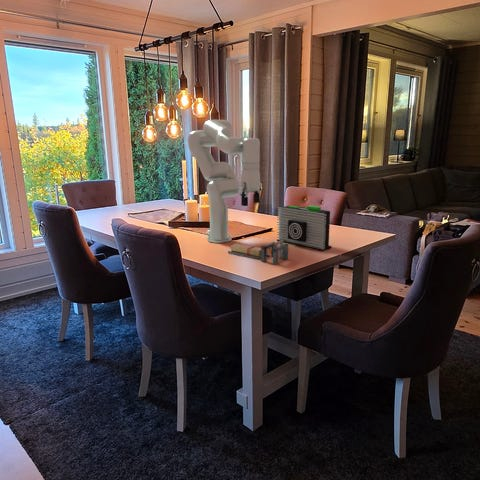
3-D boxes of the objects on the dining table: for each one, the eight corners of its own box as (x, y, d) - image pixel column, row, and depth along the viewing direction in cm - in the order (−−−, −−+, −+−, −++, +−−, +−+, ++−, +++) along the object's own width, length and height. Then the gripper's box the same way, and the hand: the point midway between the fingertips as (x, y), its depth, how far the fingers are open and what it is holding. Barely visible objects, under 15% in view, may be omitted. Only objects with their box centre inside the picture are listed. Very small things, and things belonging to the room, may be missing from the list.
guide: (227, 253, 189) (227, 251, 188) (236, 250, 194) (236, 248, 193) (261, 260, 177) (261, 258, 177) (269, 256, 182) (269, 254, 182)
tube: (231, 253, 189) (230, 244, 188) (236, 251, 192) (236, 242, 191) (259, 259, 179) (259, 250, 178) (264, 257, 183) (264, 248, 182)
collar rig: (261, 261, 175) (261, 244, 173) (275, 255, 184) (275, 238, 182) (275, 264, 171) (275, 246, 169) (289, 258, 179) (289, 241, 178)
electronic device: (273, 242, 207) (273, 203, 202) (286, 238, 214) (287, 201, 209) (319, 252, 188) (320, 210, 183) (332, 248, 195) (334, 207, 190)
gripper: (254, 164, 189) (254, 200, 194) (232, 167, 176) (232, 206, 180) (268, 165, 185) (267, 202, 190) (247, 168, 172) (246, 208, 176)
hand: (250, 204), depth 185 cm, fingers open, 9 cm apart
